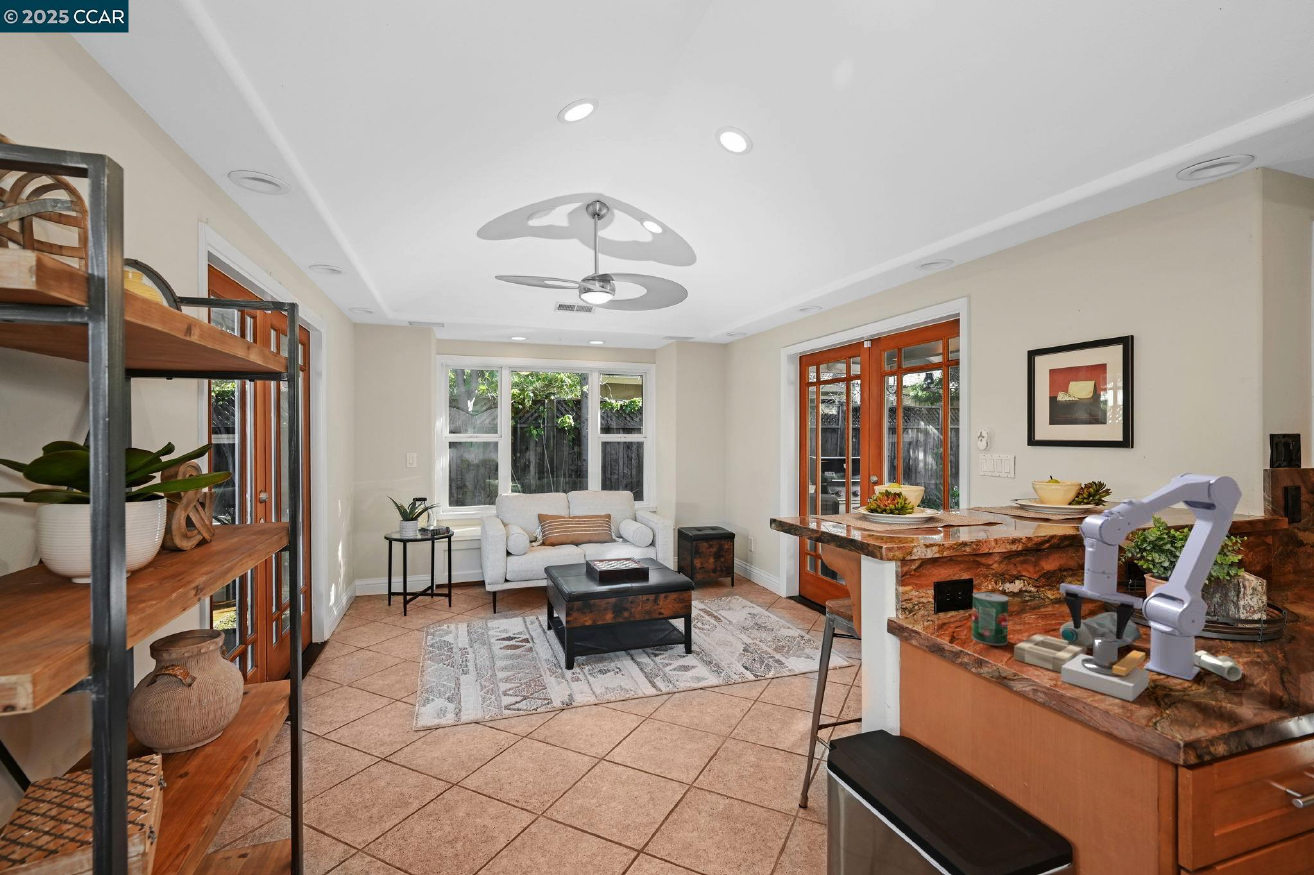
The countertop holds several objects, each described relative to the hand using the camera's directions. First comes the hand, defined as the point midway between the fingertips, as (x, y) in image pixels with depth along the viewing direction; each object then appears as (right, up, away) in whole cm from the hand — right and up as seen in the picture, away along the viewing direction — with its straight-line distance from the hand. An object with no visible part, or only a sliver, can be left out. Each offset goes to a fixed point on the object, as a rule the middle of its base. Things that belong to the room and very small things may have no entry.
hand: (1097, 633), depth 132 cm
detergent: (+10, -8, +15) cm, 19 cm away
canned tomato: (-13, -8, +19) cm, 25 cm away
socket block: (-3, -9, -6) cm, 11 cm away
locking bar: (+2, -5, -6) cm, 8 cm away
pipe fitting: (+28, -9, 0) cm, 29 cm away
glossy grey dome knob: (-3, -9, -6) cm, 11 cm away
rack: (-6, -8, +7) cm, 12 cm away
